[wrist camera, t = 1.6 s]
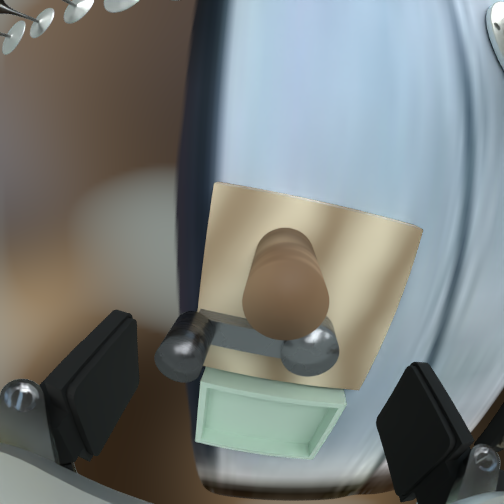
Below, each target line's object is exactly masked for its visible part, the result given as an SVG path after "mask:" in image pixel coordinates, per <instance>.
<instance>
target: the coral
mask: <svg viewBox="0 0 504 504" xmlns="http://www.w3.org/2000/svg"><path fill="white" fill-rule="evenodd" d="M478 444H485V445H488V446H490V447H492V448H493V449H494V450H495V451H496V452H499V451H501V450H503V449H504V403H503V404H502V406H501V407H500V409H499V410H498V412H497V414H496V415H495V416H494V418H493V419H492V421H491V422H490V423H489V425H488V427H487V428H486V429H485V430H484V432H483V433H482V434H481V436H480V437H479V438H478V439H477V441H476V442H475V444H474V446H475V445H478Z"/></svg>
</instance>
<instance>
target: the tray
mask: <svg viewBox="0 0 504 504" xmlns="http://www.w3.org/2000/svg"><path fill="white" fill-rule="evenodd" d="M346 405H347V403H346V398H345V393H344V389H339V388H329V387H320V386H311V385H304V384H296V383H289V382H283V381H276V380H270V379H265V378H259V377H253V376H248V375H243V374H238V373H233V372H229V371H224V370H219V369H215V368H211V367H207V366H206V368H205V371H204V373H203V376H202V379H201V382H200V392H199V403H198V414H197V426H196V439H195V442H199V443H203V444H208V445H212V446H217V447H221V448H226V449H231V450H236V451H242V452H248V453H254V454H261V455H268V456H276V457H286V458H296V459H310V460H313V458H314V457H315V455H316V454H317V452H318V451H319V449H320V448H321V446H322V445H323V443H324V442H325V440H326V439H327V437H328V435H329V434H330V432H331V431H332V429H333V427H334V426H335V424H336V422H337V421H338V419H339V417H340V415H341V414H342V412H343V410H344V408H345V407H346Z"/></svg>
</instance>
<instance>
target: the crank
mask: <svg viewBox="0 0 504 504" xmlns="http://www.w3.org/2000/svg"><path fill="white" fill-rule="evenodd" d="M211 345H215V346H219V347H224V348H228V349H233V350H238V351H243V352H248V353H253V354H258V355H263V356H269V357H275V358H280V359H281V361H282V363H283V365H284V367H285V368H286V369H287V370H288V371H290V372H291V373H293V374H296V375H299V376H305V377H310V376H316V375H320V374H322V373H325V372H326V371H328V370H329V369H331V368H332V367H333V366H334V365H335V363H336V362H337V360H338V357H339V345H338V341H337V338H336V334H335V330H334V327H333V324H332V322H331V320H330V319H329V318H328V317H327V316H326V317H325V319H324V321H323V322H322V323H321V325H320V326H319V327H318V328H317V329H316V330H314V331H313V332H312V333H310V334H308V335H306V336H304V337H302V338H299V339H294V340H276V339H272V338H269V337H266V336H264V335H262V334H260V333H259V332H257V331H256V330H255V329H254V328H253V327H252V326H251V325H250V324H249V322H248V321H247V319H246V318H242V317H237V316H232V315H227V314H223V313H218V312H214V311H209V310H205V309H200V311H199V312H195V311H188V312H185V313H182V314H181V315H180V316H179V317H178V318H177V320H176V322H175V323H174V325H173V326H172V328H171V329H170V331H169V332H168V334H167V335H166V337H165V339H164V340H163V342H162V343H161V345H160V347H159V348H158V350H157V351H156V353H155V363H156V366H157V367H158V369H159V370H160V371H161V372H162V373H163V374H164V375H165V376H167V377H168V378H170V379H172V380H174V381H178V382H191V381H193V380H195V379H197V378H198V376H199V374H200V372H201V369H202V367H203V364H204V362H205V359H206V356H207V354H208V351H209V348H210V346H211Z"/></svg>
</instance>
